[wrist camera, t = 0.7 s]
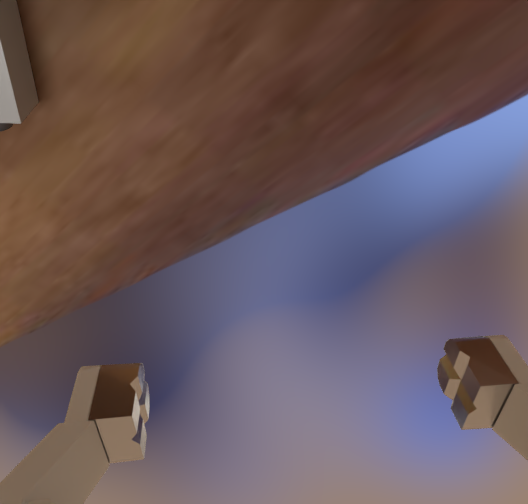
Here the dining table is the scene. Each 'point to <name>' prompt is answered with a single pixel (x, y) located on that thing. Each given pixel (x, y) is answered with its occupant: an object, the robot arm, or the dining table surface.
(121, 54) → the dining table surface
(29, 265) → the dining table surface
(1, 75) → the camera case
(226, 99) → the dining table surface
